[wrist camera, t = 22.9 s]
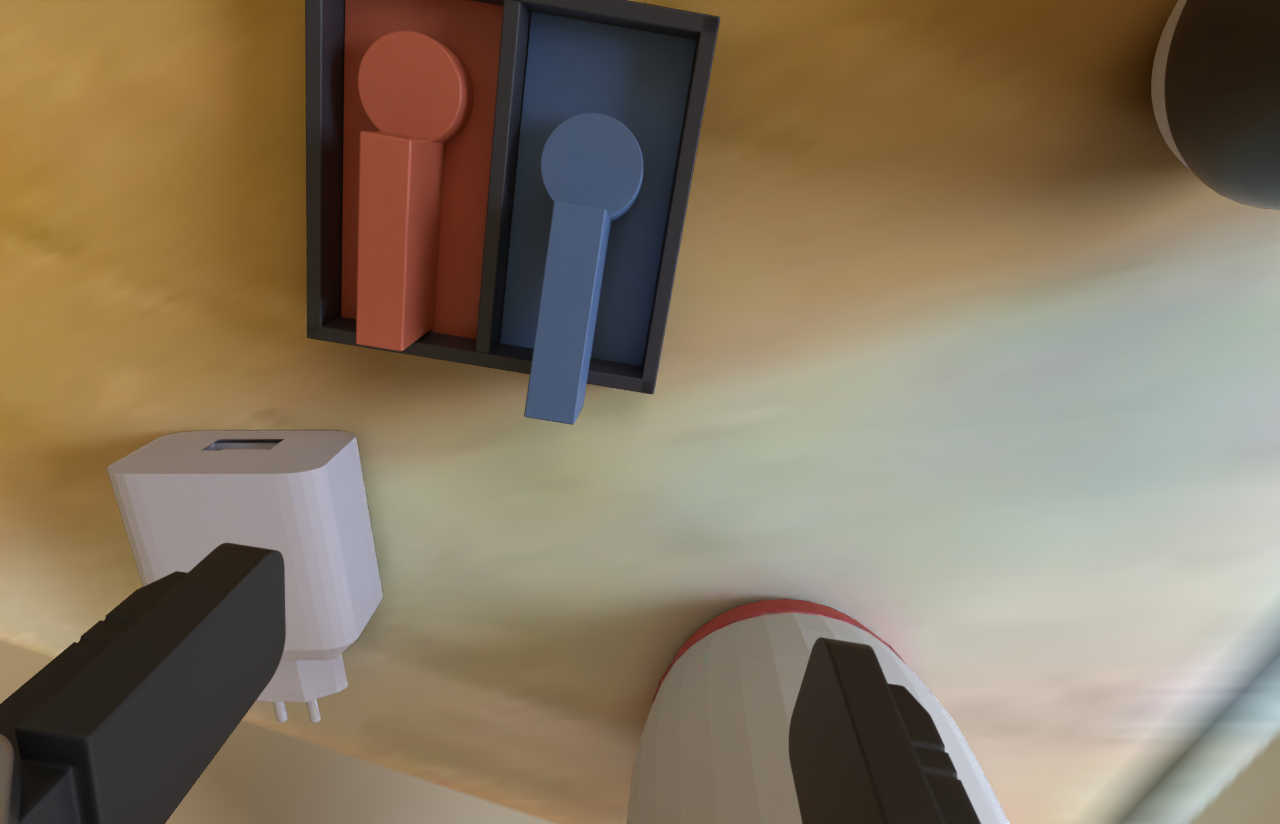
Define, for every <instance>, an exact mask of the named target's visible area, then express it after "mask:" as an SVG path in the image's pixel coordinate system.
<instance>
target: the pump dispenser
mask: <svg viewBox="0 0 1280 824" xmlns="http://www.w3.org/2000/svg"><path fill="white" fill-rule="evenodd" d="M1151 96H1152V104H1153V110H1154V114H1155V119H1156V121H1157V124H1158V127H1159V130H1160V132H1161V134H1162V136H1163V138H1164V140H1165V142H1166V143H1167V145H1168V146H1169V148H1170V149H1171V151H1172V152H1173V153H1174V154H1175V155H1176V157H1177V158H1178V159H1179V160H1180V161H1181V162H1182V163H1183V164H1184V165H1185V166H1186V167H1187V168H1189V169H1190V170H1191V171H1192V172H1193V173H1194V174H1195V175H1196V176H1197V177H1198V178H1199V179H1200V180H1201V181H1202V182H1203V183H1204V184H1205V185H1207V186H1208V187H1209V188H1211V189H1212V190H1214V191H1215V192H1217V193H1219V194H1220V195H1222V196H1224V197H1226V198H1228V199H1230V200H1233V201H1235V202H1238V203H1241V204H1244V205H1247V206H1252V207H1256V208H1262V209H1270V210H1279V211H1280V0H1178V2H1177V4H1176V5H1175V7H1174V9H1173V11H1172V13H1171V15H1170V17H1169V18H1168V20H1167V23H1166V25H1165V27H1164V30H1163V32H1162V34H1161V37H1160V40H1159V43H1158V46H1157V50H1156V54H1155V58H1154V63H1153V69H1152V80H1151Z"/></svg>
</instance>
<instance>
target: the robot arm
mask: <svg viewBox="0 0 1280 824" xmlns="http://www.w3.org/2000/svg"><path fill="white" fill-rule="evenodd" d="M285 639H286V617H285V567H284V559H283V556H282V554H281V553H280V552H279V551H278V550H271V549H265V548H259V547H252V546H246V545H239V544H233V543H223V544H221V545H219V546H218V547H216V548H215V549H214V550H213V551H212V552H211V553H210V554H208V555H207V556H206V557H205V558H204V559H203V560H202V561H201V562H199V563H198V564H197V565H196V566H195V567H194V568H193V569H192V570H191V571H189V572H188V573H186V572H180V571H175V572H173V573H171V574H169V575H167V576H165V577H163V578H161V579H159V580H157V581H154V582H152V583H150V584H148V585H146V586H144V587H142V588H140V589H138V590H136V591H135V592H133V593H132V594H131V595H130V596H129V597H128V598H126V599H125V600H124V601H123V602H122V603H120V604H119V605H118V606H117V607H116V608H114V609H113V610H112V611H111V612H110V613H108V614H107V615H106V619H105V620H104V621H99V622H98V623H97V624H95V625H94V626H93V627H92V628H91V629H89V630H88V631H87V632H86V633H85V634H83V635H82V636H81V639H80V641H79V642H78V643H76V642H74V643H73V644H71V645H70V646H69V647H68V648H67V649H66V650H64V651H63V652H62V653H61V654H60V655H58V656H57V657H56V658H55V659H54V660H52V661H51V662H50V663H49V664H48V665H46V666H45V667H44V668H43V669H42V670H40V671H39V672H38V673H37V674H36V675H35V676H33V677H32V678H31V679H30V680H29V681H27V682H26V683H25V684H24V685H23V686H21V687H20V688H19V689H18V690H17V691H15V692H14V693H13V694H12V695H11V696H9V697H8V698H7V699H6V700H5V701H3V703H1V704H0V824H165V823H166V821H167V820H168V819H169V817H170V816H171V815H172V813H173V812H174V810H175V809H176V808H177V806H178V805H179V804H180V802H181V801H182V800H183V798H184V797H185V796H186V794H187V793H188V792H189V790H190V789H191V788H192V786H193V785H194V784H195V782H196V781H197V779H198V778H199V777H200V775H201V774H202V773H203V771H204V770H205V769H206V767H207V766H208V764H209V763H210V762H211V761H212V759H213V758H214V756H215V755H216V754H217V752H218V751H219V750H220V748H221V747H222V746H223V744H224V743H225V742H226V740H227V739H228V738H229V736H230V735H231V733H232V732H233V731H234V729H235V728H236V727H237V725H238V724H239V723H240V721H241V720H242V719H243V717H244V716H245V715H246V713H247V712H248V710H249V709H250V708H251V706H252V705H253V704H254V702H255V701H256V700H257V698H258V697H259V696H260V694H261V693H262V692H263V690H264V689H265V687H266V686H267V685H268V683H269V682H270V681H271V679H272V678H273V676H274V674H275V672H276V670H277V668H278V666H279V663H280V661H281V658H282V654H283V651H284V646H285ZM789 759H790V765H791V770H792V774H793V779H794V784H795V789H796V794H797V799H798V804H799V809H800V814H801V819H802V824H981V822H980V820H979V818H978V816H977V814H976V812H975V810H974V807H973V805H972V803H971V801H970V799H969V797H968V794H967V792H966V790H965V788H964V786H963V784H962V782H961V780H959V779H957V771H956V769H955V767H954V764H953V762H952V760H951V758H950V756H949V754H948V753H947V752H945V745H944V743H943V741H942V739H941V737H940V734H939V732H938V730H937V728H936V726H935V724H934V722H933V719H932V717H931V715H930V714H929V713H928V712H927V711H926V709H925V708H924V707H923V706H922V705H921V704H920V703H919V702H918V701H917V700H916V699H915V697H914V696H913V695H912V694H911V693H910V692H909V691H908V690H907V689H906V688H905V686H901V685H895V684H888V683H887V680H886V678H885V676H884V673H883V671H882V668H881V666H880V664H879V661H878V659H877V656H876V654H875V652H874V650H873V648H872V647H871V646H870V645H867V644H861V643H854V642H848V641H842V640H835V639H829V638H822V637H820V638H818V639H817V640H816V641H815V643H814V645H813V648H812V651H811V654H810V657H809V660H808V664H807V667H806V670H805V674H804V677H803V680H802V683H801V687H800V690H799V693H798V696H797V700H796V703H795V706H794V710H793V713H792V717H791V721H790V728H789Z"/></svg>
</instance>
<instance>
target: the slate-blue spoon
mask: <svg viewBox="0 0 1280 824" xmlns="http://www.w3.org/2000/svg"><path fill="white" fill-rule="evenodd" d="M540 172H541V178H542V182H543V185H544V187H545V190H546V192H547V194H548V195H549V197H550V198H551V200H552V201H553V202H554V203H553V211H552V218H551V225H550V233H549V240H548V247H547V254H546V262H545V269H544V276H543V283H542V291H541V298H540V305H539V312H538V320H537V327H536V334H535V341H534V349H533V356H532V363H531V371H530V378H529V385H528V392H527V400H526V407H525V414H524V416H525V417H528V418H535V419H541V420H547V421H553V422H560V423H566V424H572V425H573V424H574V423H575V421H576V419H577V417H578V415H579V413H580V411H581V409H582V407H583V404H584V397H585V390H586V384H587V377H588V371H589V364H590V357H591V351H592V344H593V338H594V331H595V324H596V318H597V311H598V304H599V298H600V291H601V285H602V278H603V271H604V265H605V258H606V252H607V245H608V238H609V232H610V225H611V222H612V221H614V220H616V219H618V218H620V217H621V216H623V215H624V214H625V213H627V212H628V211H629V210H630V209H631V207H632V206H633V205H634V203H635V202H636V200H637V198H638V196H639V194H640V191H641V188H642V184H643V157H642V152H641V149H640V146H639V144H638V142H637V140H636V138H635V137H634V135H633V134H632V132H631V131H630V130H629V129H628V128H627V127H626V126H625V125H624V124H623V123H621V122H620V121H618V120H617V119H615V118H613V117H611V116H608V115H605V114H601V113H593V112H591V113H582V114H577V115H574V116H572V117H570V118H568V119H566V120H564V121H563V122H561V123H560V124H559V125H558V126H557V127H556V128H555V129H554V130H553V131H552V132H551V134H550V135H549V137H548V138H547V140H546V142H545V144H544V147H543V150H542V154H541V160H540Z"/></svg>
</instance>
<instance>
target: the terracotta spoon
mask: <svg viewBox="0 0 1280 824" xmlns="http://www.w3.org/2000/svg"><path fill="white" fill-rule="evenodd" d="M358 91H359V97H360V100H361V103H362V106H363V108H364V111H365V112H366V114H367V116H368V118H369V119H370V120H371V122H372V123H373V124H374V125H375V127H376V128H377V129H378V130H380V131H381V132H372V131H361V132H360V151H359V206H358V261H357V316H356V344H359V345H365V346H371V347H377V348H383V349H390V350H396V351H403V350H404V349H406V348H407V347H408V346H410V345H411V344H412V343H414V342H415V341H416V340H418V339H419V338H420V337H421V336H423V335H424V334H425V333H427V332H428V331H429V330H431V329H432V328H433V327H434V322H435V305H436V287H437V270H438V253H439V235H440V218H441V201H442V184H443V166H444V149H445V142H448V141H450V140H452V139H453V138H454V137H456V136H457V135H458V134H459V133H460V132H461V131H462V130H463V128H464V127H465V126H466V124H467V122H468V120H469V118H470V115H471V112H472V108H473V101H474V93H473V86H472V81H471V78H470V75H469V73H468V71H467V68H466V66H465V65H464V63H463V62H462V60H461V59H460V58H459V57H458V55H457V54H456V53H455V52H454V51H453V50H451V49H450V48H449V47H447V46H446V45H444V44H443V43H441V42H439V41H437V40H435V39H433V38H430V37H428V36H426V35H424V34H421V33H419V32H415V31H408V30H400V31H394V32H390V33H387V34H385V35H383V36H381V37H380V38H378V39H377V40H376V41H374V42H373V43H372V44H371V46H370V47H369V48H368V49H367V51H366V52H365V54H364V56H363V58H362V60H361V63H360V67H359V71H358Z"/></svg>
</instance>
